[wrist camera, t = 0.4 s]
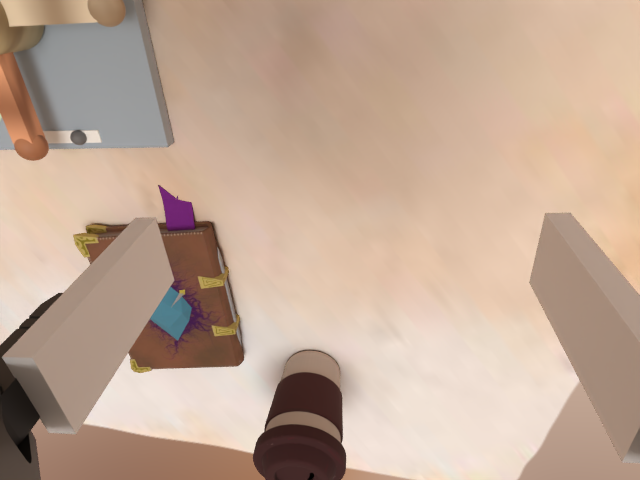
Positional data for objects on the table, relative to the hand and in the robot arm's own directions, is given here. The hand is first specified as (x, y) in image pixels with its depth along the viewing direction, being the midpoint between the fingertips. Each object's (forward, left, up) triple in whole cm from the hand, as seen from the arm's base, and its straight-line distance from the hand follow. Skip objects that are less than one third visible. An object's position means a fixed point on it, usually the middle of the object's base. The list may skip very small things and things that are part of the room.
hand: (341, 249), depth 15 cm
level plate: (-7, -29, -27) cm, 40 cm away
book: (+22, -23, -28) cm, 42 cm away
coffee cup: (+36, -6, -27) cm, 46 cm away
